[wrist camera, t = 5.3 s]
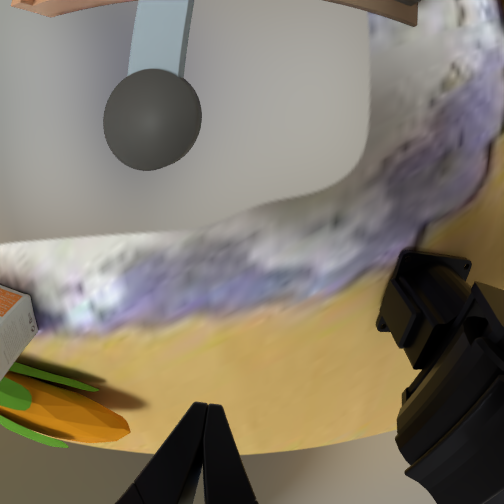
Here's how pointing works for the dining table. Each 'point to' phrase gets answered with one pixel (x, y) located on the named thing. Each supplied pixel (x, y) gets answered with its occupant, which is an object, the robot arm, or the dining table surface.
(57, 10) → the ceramic dish
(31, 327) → the skincare box
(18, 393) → the corn
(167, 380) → the dining table surface
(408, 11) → the seesaw base
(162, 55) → the lever
